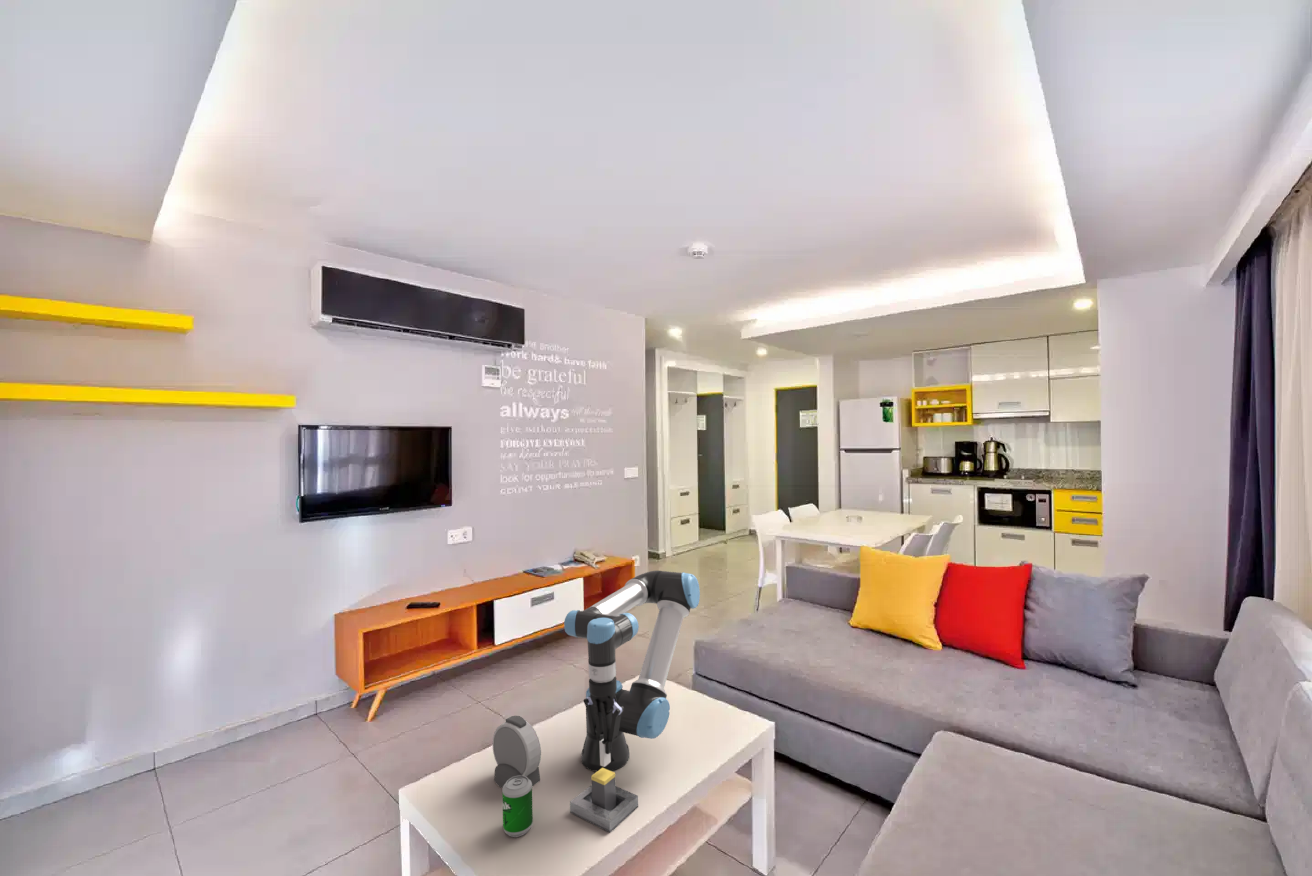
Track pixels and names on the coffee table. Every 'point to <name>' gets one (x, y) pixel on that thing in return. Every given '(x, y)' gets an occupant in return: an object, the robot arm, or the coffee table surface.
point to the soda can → (517, 806)
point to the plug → (604, 789)
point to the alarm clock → (516, 751)
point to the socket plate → (600, 816)
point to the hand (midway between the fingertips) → (605, 763)
